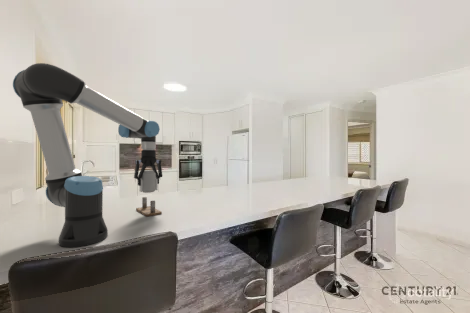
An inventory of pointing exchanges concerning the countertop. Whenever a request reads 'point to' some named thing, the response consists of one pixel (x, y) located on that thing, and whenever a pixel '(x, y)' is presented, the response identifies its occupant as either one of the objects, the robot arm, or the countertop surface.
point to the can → (149, 181)
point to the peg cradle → (148, 208)
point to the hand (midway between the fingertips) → (148, 190)
